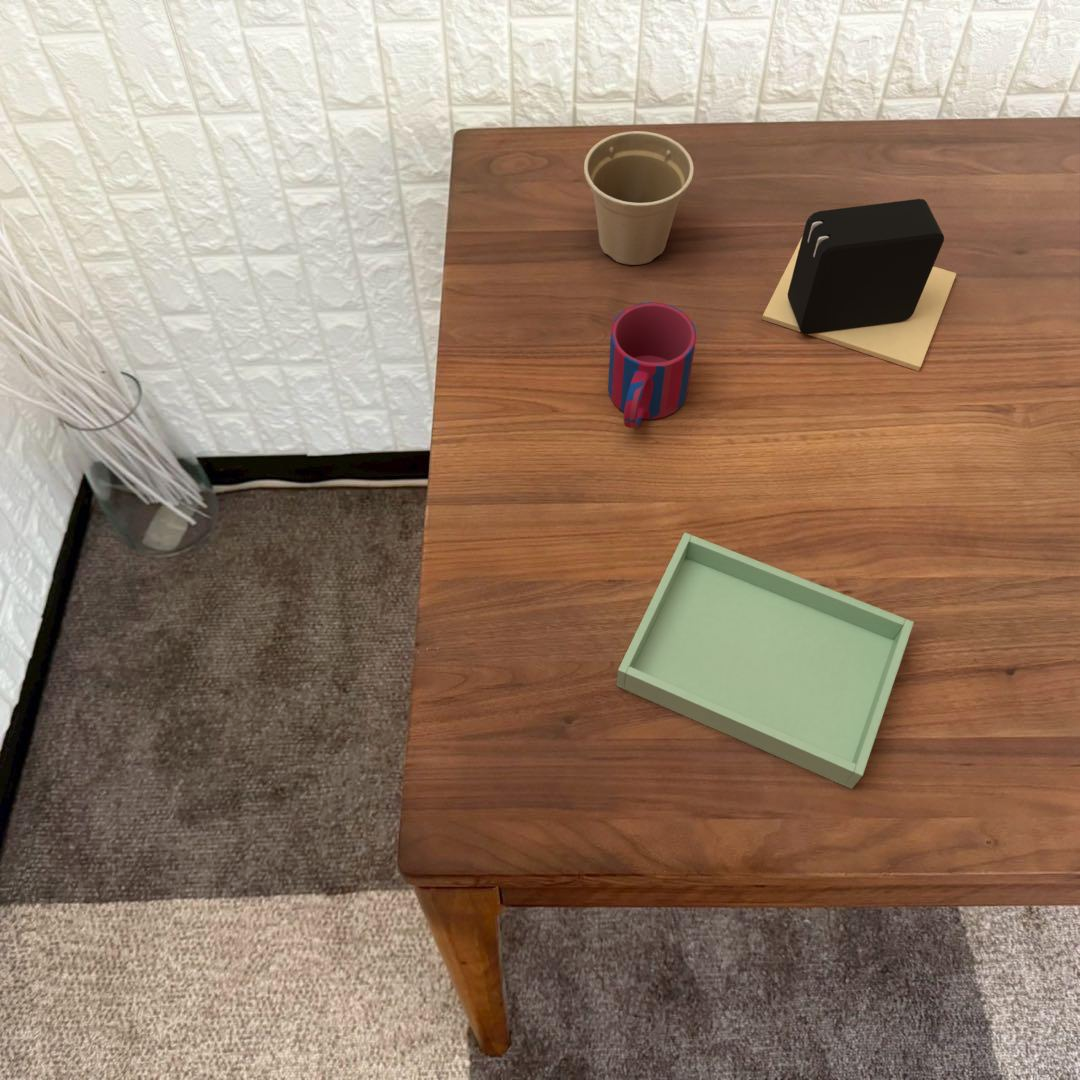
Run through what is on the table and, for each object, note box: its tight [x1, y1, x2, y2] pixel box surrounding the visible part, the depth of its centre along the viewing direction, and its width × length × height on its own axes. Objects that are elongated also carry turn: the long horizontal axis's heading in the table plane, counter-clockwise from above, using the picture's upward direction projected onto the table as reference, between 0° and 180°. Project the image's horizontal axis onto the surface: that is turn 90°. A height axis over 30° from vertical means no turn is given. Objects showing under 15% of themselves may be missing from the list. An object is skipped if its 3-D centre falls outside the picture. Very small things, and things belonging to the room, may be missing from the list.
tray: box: [615, 532, 915, 790], centre depth 71 cm, size 17×12×3 cm
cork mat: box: [761, 235, 957, 372], centre depth 90 cm, size 14×12×1 cm
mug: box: [607, 301, 697, 429], centre depth 82 cm, size 7×10×7 cm
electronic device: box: [788, 198, 945, 335], centre depth 84 cm, size 4×10×10 cm, turn 98°
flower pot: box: [583, 130, 695, 266], centre depth 90 cm, size 9×9×9 cm
